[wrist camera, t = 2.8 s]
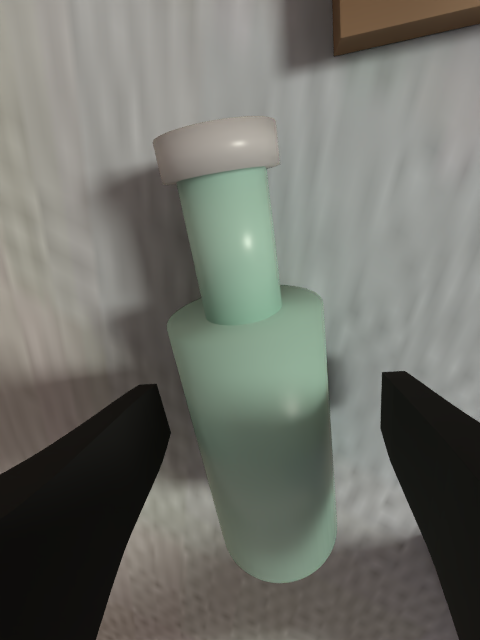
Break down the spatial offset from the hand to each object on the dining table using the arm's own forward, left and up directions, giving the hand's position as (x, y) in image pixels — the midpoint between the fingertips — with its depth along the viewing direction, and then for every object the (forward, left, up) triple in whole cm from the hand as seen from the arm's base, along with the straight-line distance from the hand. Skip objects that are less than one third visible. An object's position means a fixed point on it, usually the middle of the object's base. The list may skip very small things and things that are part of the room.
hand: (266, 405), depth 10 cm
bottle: (+1, 0, -1) cm, 2 cm away
